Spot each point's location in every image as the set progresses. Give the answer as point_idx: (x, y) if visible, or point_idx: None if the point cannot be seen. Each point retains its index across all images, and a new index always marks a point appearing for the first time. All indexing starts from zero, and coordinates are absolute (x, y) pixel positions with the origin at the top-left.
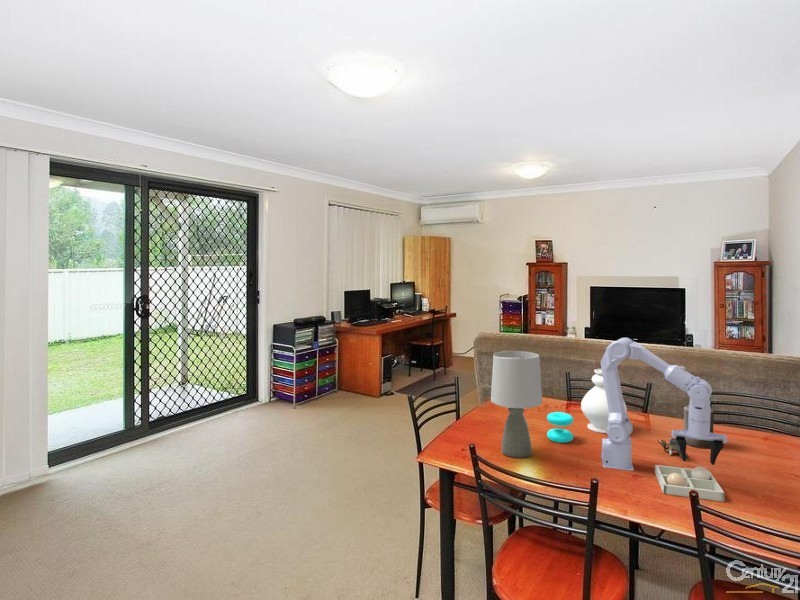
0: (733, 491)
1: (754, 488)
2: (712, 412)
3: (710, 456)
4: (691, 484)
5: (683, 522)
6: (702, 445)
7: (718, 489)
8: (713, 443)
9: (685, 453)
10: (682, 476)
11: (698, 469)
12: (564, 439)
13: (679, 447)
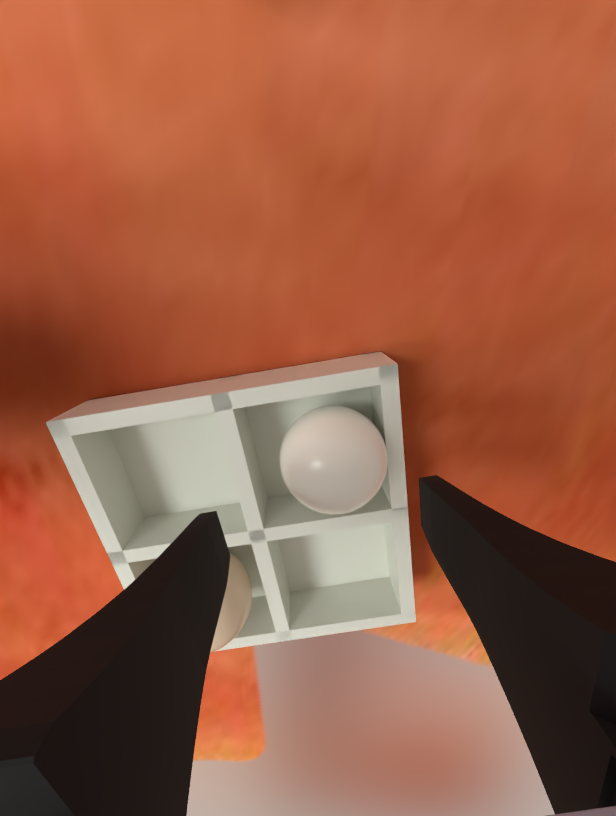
0: (471, 447)
1: (597, 356)
2: None
3: (443, 508)
4: (277, 602)
5: (255, 739)
6: None
7: (397, 586)
8: (581, 800)
9: (208, 647)
10: (228, 630)
11: (320, 507)
12: None
13: (123, 599)
